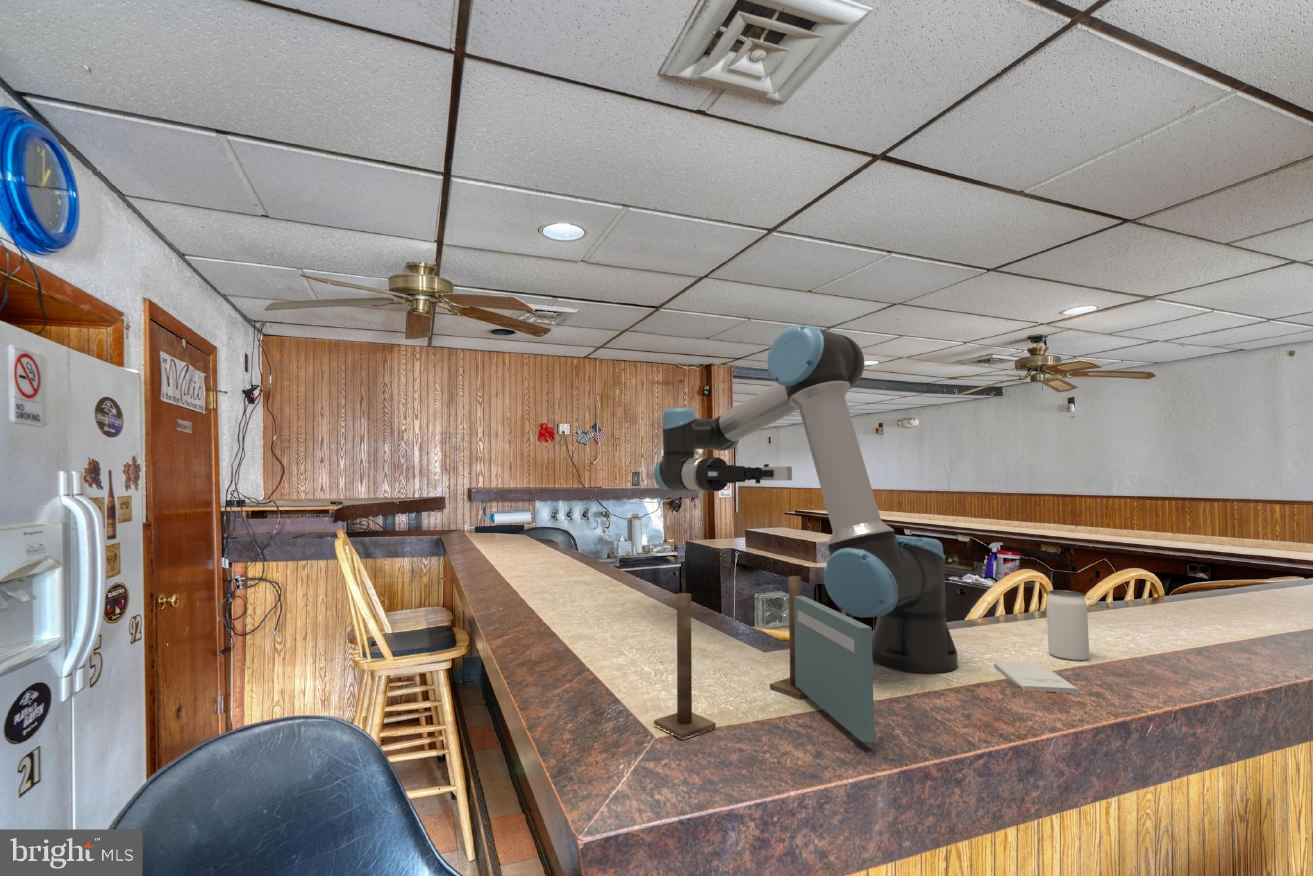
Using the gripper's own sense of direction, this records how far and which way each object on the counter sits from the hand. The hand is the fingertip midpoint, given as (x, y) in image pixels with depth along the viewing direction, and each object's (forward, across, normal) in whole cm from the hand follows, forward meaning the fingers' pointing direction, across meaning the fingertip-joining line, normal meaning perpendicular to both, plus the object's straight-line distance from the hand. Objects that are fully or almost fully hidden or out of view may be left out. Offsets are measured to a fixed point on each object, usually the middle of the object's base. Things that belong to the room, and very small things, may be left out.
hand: (789, 473), depth 118 cm
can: (+32, -42, -35) cm, 63 cm away
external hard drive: (+34, -22, -36) cm, 54 cm away
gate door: (+22, +19, -34) cm, 45 cm away
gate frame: (+12, +25, -35) cm, 45 cm away
